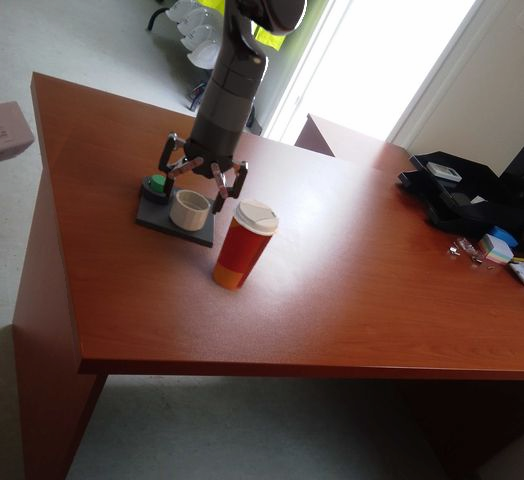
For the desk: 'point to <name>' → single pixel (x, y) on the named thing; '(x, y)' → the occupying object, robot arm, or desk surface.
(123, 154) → the desk surface
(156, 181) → the button
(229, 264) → the paper cup
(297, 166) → the desk surface
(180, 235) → the scale
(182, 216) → the bowl
